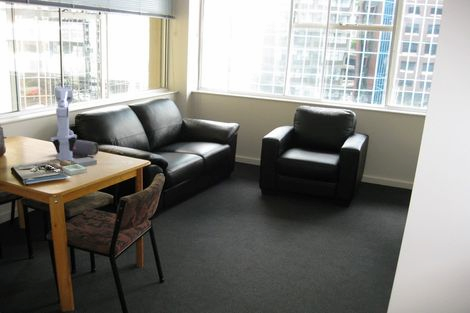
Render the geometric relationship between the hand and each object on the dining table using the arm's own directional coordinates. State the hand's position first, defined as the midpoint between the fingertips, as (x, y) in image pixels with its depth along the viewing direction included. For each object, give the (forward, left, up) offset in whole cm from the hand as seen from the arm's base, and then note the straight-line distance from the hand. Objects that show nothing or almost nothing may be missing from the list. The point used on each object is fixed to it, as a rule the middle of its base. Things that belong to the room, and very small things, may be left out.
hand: (64, 151), depth 260 cm
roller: (0, 0, -9) cm, 9 cm away
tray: (+10, 0, -9) cm, 14 cm away
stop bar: (0, -7, -9) cm, 12 cm away
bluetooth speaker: (-20, +20, -10) cm, 30 cm away
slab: (0, +12, -10) cm, 15 cm away
